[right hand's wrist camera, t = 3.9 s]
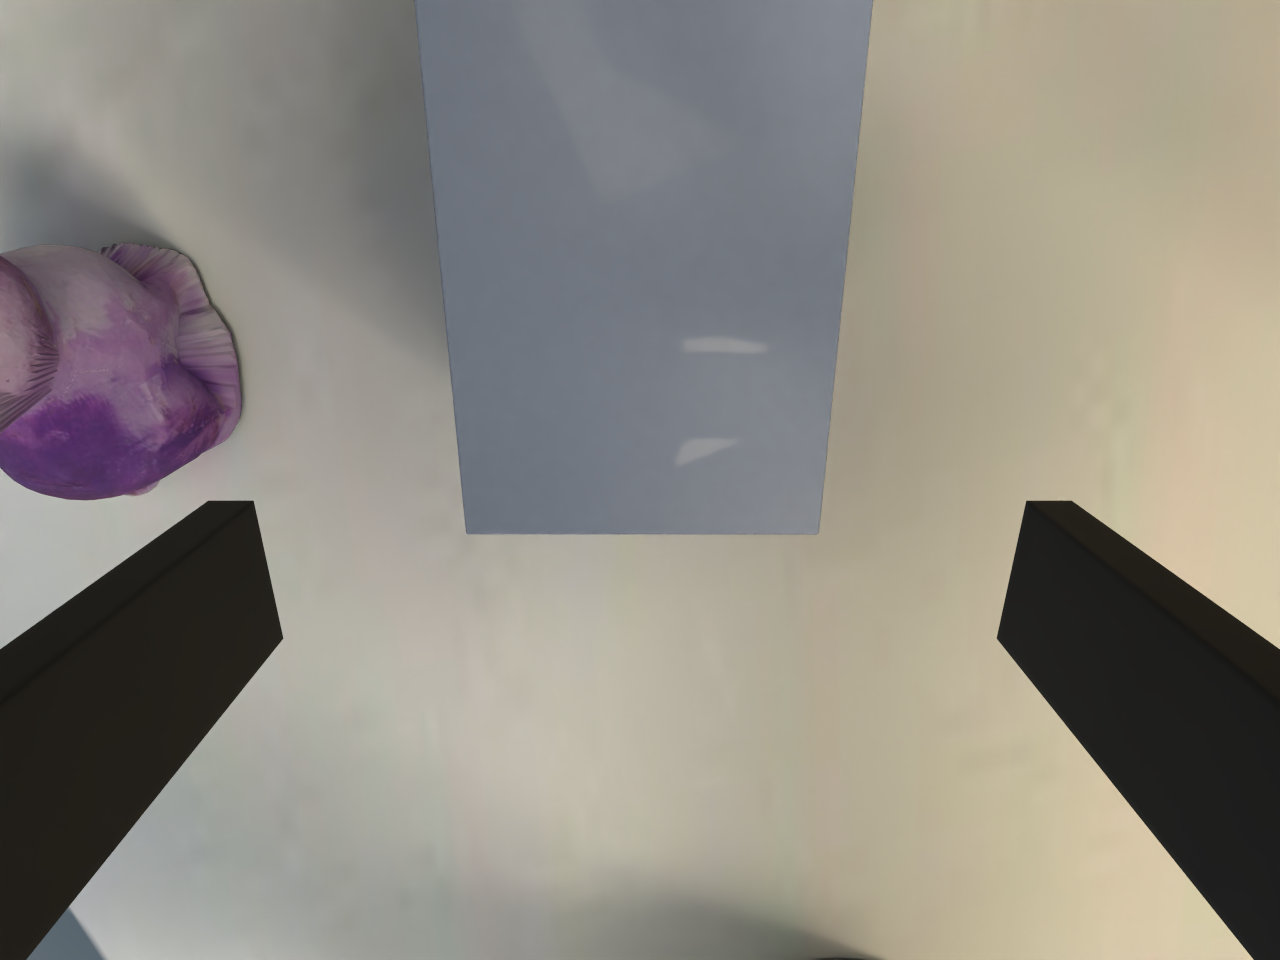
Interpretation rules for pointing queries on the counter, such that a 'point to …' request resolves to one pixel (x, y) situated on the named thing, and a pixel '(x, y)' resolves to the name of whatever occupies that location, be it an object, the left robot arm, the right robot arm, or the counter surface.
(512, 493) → the cabinet
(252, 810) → the counter surface
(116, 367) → the figurine
